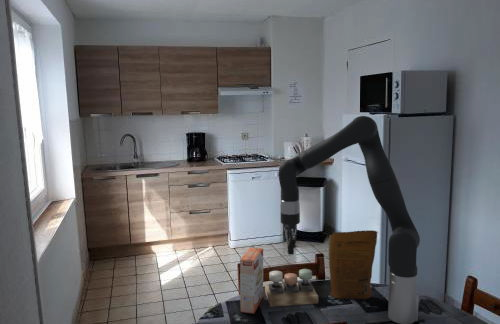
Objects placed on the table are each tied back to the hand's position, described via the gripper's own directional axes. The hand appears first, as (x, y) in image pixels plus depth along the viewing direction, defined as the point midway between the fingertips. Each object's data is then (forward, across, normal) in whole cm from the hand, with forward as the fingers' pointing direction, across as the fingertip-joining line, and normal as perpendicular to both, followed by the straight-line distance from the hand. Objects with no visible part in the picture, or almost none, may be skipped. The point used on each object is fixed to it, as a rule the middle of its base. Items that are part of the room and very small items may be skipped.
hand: (290, 253), depth 161 cm
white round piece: (+13, 0, +6) cm, 14 cm away
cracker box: (+18, -4, +16) cm, 25 cm away
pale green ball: (+13, 0, -6) cm, 14 cm away
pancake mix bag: (+19, -3, -24) cm, 31 cm away
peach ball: (+14, 0, 0) cm, 14 cm away
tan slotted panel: (+18, 0, 0) cm, 18 cm away
